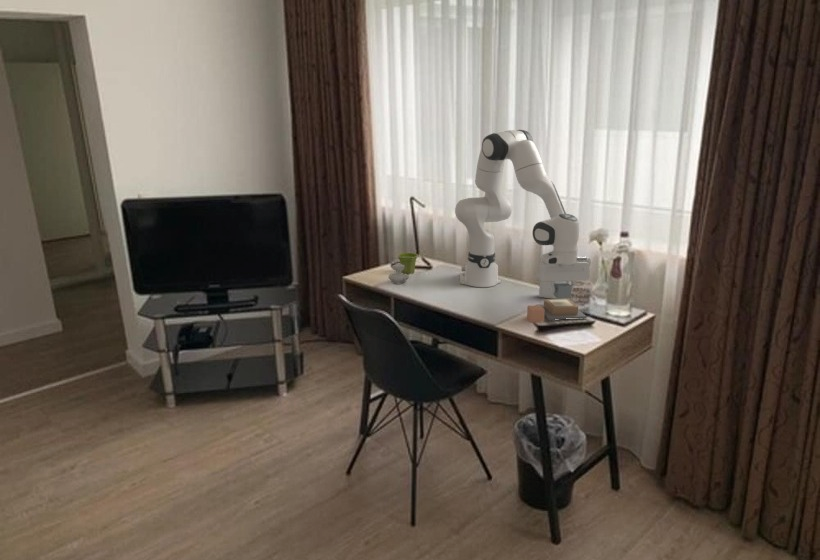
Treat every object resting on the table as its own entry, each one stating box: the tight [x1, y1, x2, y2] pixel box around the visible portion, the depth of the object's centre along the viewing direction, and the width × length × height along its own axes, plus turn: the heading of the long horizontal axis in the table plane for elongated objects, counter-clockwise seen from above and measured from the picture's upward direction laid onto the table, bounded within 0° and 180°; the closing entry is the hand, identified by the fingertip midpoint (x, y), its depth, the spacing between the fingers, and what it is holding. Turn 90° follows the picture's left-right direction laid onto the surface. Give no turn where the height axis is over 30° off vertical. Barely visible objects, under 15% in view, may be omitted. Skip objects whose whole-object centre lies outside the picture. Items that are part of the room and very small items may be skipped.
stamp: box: [388, 263, 410, 285], centre depth 270 cm, size 9×7×8 cm
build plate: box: [537, 298, 587, 321], centre depth 233 cm, size 15×15×4 cm
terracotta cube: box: [526, 304, 545, 323], centre depth 226 cm, size 5×5×5 cm
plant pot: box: [397, 252, 419, 275], centre depth 285 cm, size 9×9×9 cm
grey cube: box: [553, 281, 572, 299], centre depth 231 cm, size 5×5×5 cm
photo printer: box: [538, 281, 566, 299], centre depth 250 cm, size 10×4×12 cm, turn 66°
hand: (562, 291), depth 231 cm, fingers closed on grey cube, 5 cm apart
